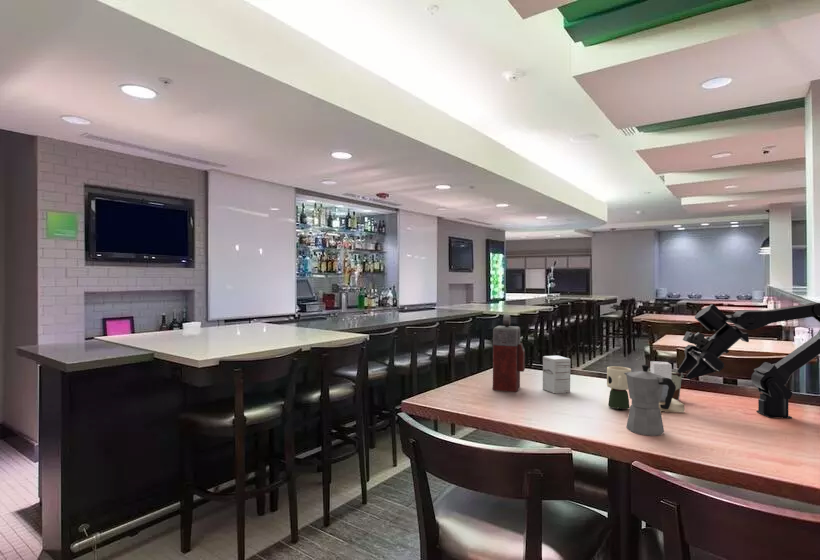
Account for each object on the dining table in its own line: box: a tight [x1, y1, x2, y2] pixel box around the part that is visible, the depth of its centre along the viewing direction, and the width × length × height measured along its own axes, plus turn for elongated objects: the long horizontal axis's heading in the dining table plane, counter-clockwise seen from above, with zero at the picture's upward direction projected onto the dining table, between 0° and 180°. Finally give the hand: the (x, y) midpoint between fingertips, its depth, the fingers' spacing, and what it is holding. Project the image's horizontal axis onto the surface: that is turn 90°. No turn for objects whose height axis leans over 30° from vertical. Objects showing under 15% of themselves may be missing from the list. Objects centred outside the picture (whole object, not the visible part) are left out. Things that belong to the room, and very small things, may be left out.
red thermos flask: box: [492, 314, 526, 393], centre depth 173 cm, size 9×11×28 cm
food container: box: [648, 367, 685, 401], centre depth 162 cm, size 12×6×10 cm, turn 84°
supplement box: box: [542, 355, 572, 394], centre depth 171 cm, size 7×7×13 cm
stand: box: [659, 398, 685, 413], centre depth 149 cm, size 10×10×2 cm
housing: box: [649, 360, 673, 402], centre depth 149 cm, size 5×5×12 cm
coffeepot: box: [624, 364, 676, 437], centre depth 124 cm, size 15×9×18 cm, turn 24°
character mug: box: [606, 365, 632, 411], centre depth 147 cm, size 11×7×13 cm, turn 159°
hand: (682, 375), depth 147 cm, fingers open, 9 cm apart
